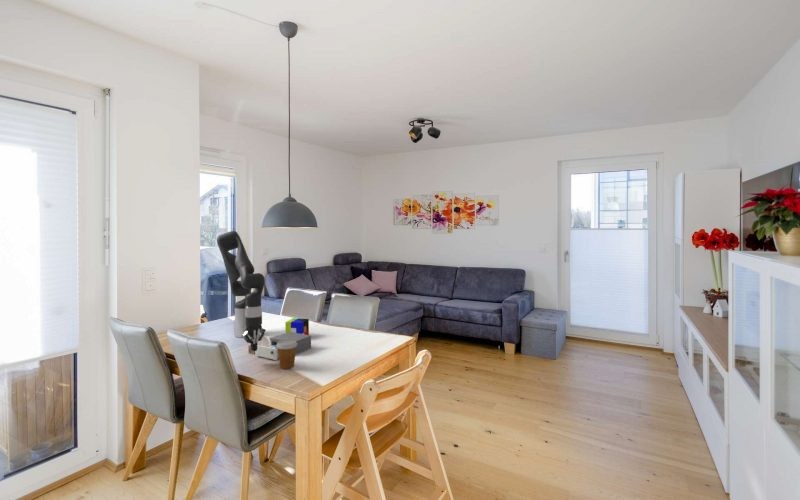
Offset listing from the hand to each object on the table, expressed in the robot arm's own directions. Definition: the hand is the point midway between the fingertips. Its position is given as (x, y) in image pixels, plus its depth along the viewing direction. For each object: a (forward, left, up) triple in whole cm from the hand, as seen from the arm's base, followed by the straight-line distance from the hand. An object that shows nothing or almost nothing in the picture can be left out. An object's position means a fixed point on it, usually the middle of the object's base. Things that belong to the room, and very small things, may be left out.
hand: (254, 350), depth 191 cm
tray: (0, +14, -5) cm, 15 cm away
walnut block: (-13, +11, -6) cm, 18 cm away
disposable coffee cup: (+17, +4, -7) cm, 19 cm away
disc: (0, +13, -4) cm, 13 cm away
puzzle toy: (-14, +44, -7) cm, 47 cm away
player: (0, +24, -6) cm, 25 cm away
